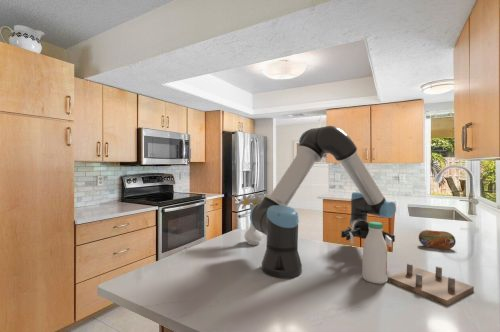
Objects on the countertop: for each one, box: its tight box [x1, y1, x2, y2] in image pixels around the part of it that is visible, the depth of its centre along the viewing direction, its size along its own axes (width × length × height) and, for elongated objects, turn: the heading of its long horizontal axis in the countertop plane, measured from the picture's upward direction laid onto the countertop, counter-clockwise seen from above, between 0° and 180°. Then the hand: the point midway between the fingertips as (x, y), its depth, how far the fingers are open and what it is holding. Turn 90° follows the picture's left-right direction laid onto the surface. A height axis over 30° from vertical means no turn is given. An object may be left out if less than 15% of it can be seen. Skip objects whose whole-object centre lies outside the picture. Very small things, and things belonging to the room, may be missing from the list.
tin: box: [418, 229, 456, 250], centre depth 131 cm, size 15×3×8 cm, turn 69°
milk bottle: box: [361, 221, 388, 285], centre depth 93 cm, size 8×8×20 cm
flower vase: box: [234, 192, 268, 246], centre depth 132 cm, size 13×18×25 cm
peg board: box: [386, 263, 475, 306], centre depth 89 cm, size 18×18×5 cm
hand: (371, 241), depth 101 cm, fingers open, 13 cm apart
